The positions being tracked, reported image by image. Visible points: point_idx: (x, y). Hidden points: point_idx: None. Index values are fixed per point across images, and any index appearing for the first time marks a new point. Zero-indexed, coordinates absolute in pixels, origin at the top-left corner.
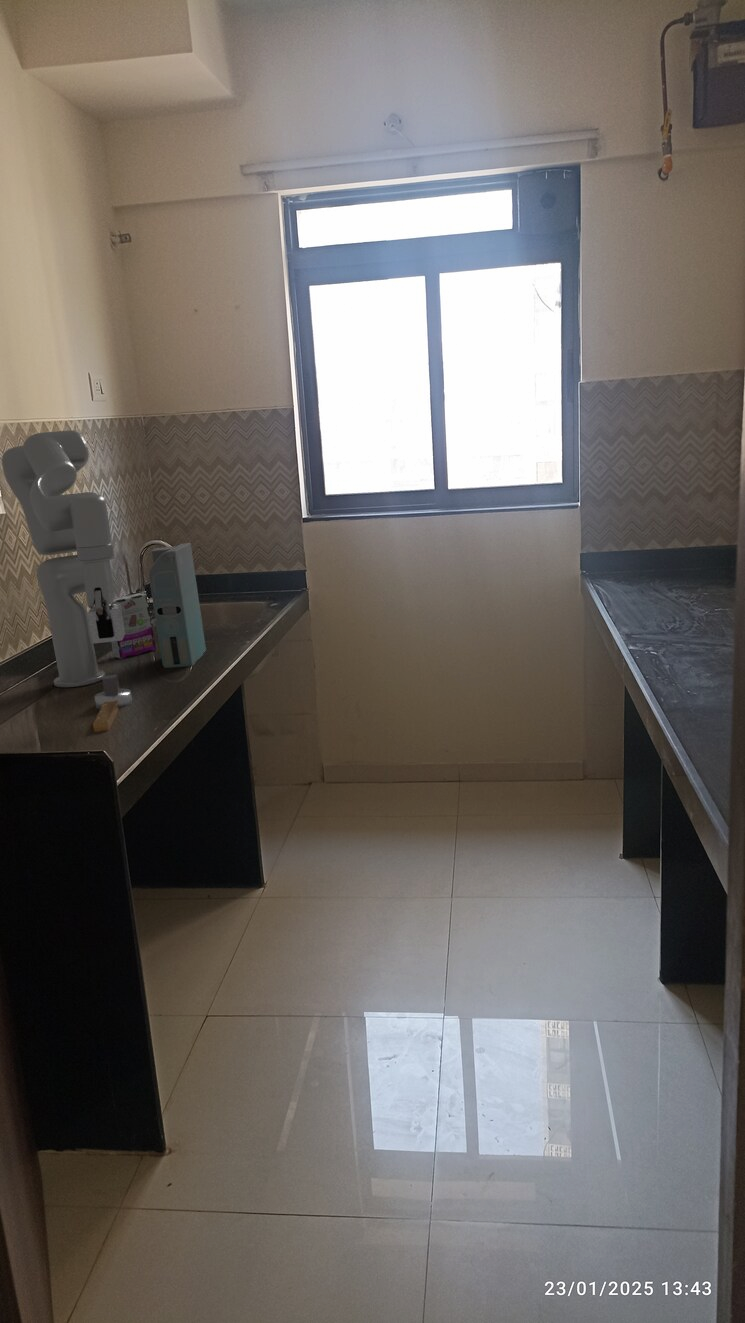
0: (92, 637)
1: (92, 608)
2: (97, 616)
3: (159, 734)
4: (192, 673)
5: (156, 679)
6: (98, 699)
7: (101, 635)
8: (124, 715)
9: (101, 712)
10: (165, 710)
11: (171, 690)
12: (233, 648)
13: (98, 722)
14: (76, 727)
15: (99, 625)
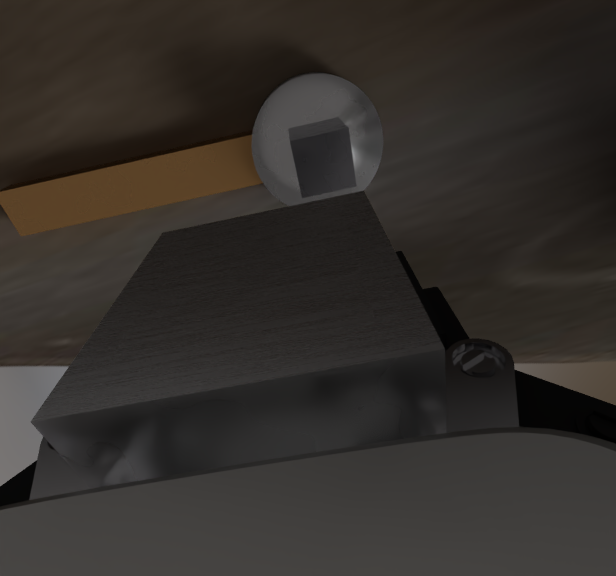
0: (149, 255)
1: (286, 397)
2: (49, 464)
3: (22, 360)
4: (579, 290)
5: (578, 196)
6: (260, 109)
7: None
8: (178, 223)
9: (121, 174)
10: None
11: None
12: None
13: (13, 206)
14: (49, 94)
15: None
